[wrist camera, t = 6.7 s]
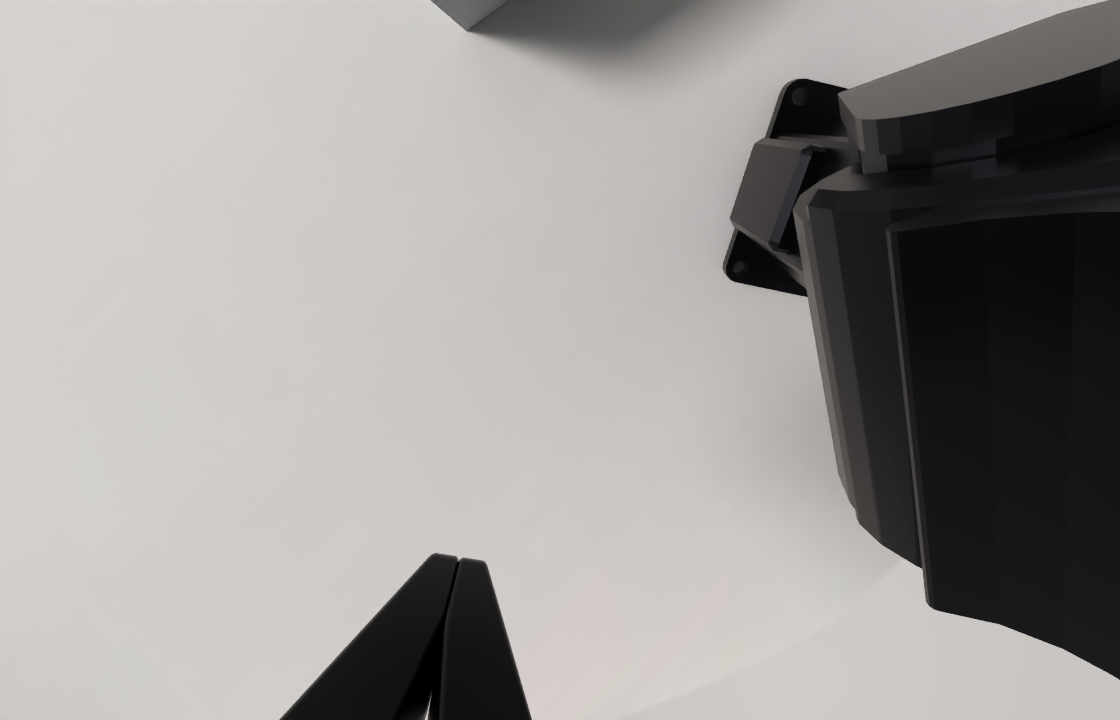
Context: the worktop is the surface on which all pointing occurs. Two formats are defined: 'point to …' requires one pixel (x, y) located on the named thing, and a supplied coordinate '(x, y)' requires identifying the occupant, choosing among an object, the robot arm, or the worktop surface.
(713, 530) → the worktop surface
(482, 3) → the slate block one
